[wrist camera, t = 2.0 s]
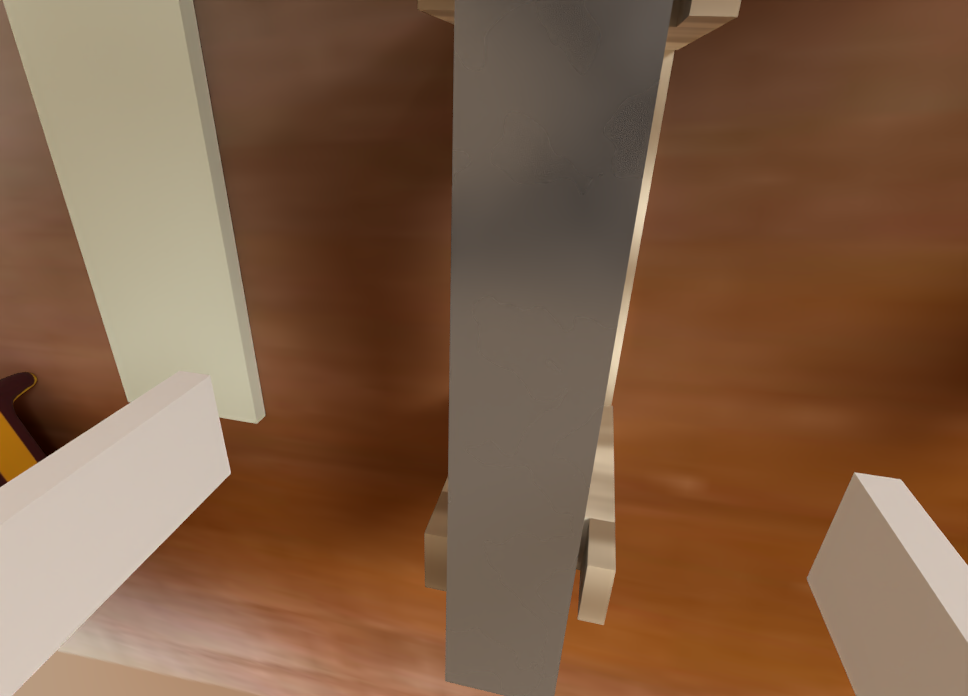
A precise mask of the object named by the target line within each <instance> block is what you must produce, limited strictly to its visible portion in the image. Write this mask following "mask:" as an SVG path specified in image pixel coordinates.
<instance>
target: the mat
mask: <svg viewBox="0 0 968 696" xmlns="http://www.w3.org/2000/svg"><path fill="white" fill-rule="evenodd" d="M3 3H4V6H5V9H6V12H7V16H8V19H9V22H10V25H11V28H12V32H13V35H14V38H15V41H16V44H17V48H18V51H19V54H20V57H21V60H22V64H23V67H24V70H25V73H26V77H27V80H28V83H29V86H30V89H31V93H32V96H33V99H34V102H35V105H36V109H37V112H38V115H39V118H40V121H41V125H42V128H43V131H44V134H45V137H46V141H47V144H48V147H49V150H50V153H51V157H52V160H53V163H54V166H55V169H56V173H57V176H58V179H59V182H60V185H61V189H62V192H63V195H64V198H65V201H66V205H67V208H68V211H69V214H70V217H71V221H72V224H73V227H74V230H75V234H76V237H77V240H78V243H79V246H80V250H81V253H82V256H83V259H84V262H85V266H86V269H87V272H88V275H89V278H90V282H91V285H92V288H93V291H94V294H95V298H96V301H97V304H98V307H99V310H100V314H101V317H102V320H103V323H104V326H105V330H106V333H107V336H108V339H109V342H110V346H111V349H112V352H113V355H114V358H115V362H116V365H117V368H118V371H119V374H120V378H121V381H122V384H123V387H124V391H125V394H126V397H127V400H128V402H132V401H134V400H135V399H137V398H138V397H140V396H141V395H143V394H145V393H146V392H148V391H149V390H151V389H152V388H154V387H155V386H157V385H158V384H160V383H161V382H163V381H164V380H166V379H168V378H169V377H171V376H172V375H174V374H175V373H177V372H178V371H185V372H192V373H198V374H205V375H210V377H211V382H212V387H213V391H214V396H215V401H216V405H217V410H218V415H219V417H220V418H226V419H232V420H238V421H244V422H250V423H256V424H257V423H258V422H259V421H260V420H262V419H263V418H264V417H265V416H266V415H265V409H264V404H263V398H262V392H261V387H260V381H259V375H258V369H257V364H256V358H255V352H254V347H253V341H252V335H251V329H250V324H249V318H248V312H247V307H246V301H245V295H244V289H243V284H242V278H241V272H240V267H239V261H238V255H237V249H236V244H235V238H234V232H233V227H232V221H231V215H230V209H229V204H228V198H227V192H226V187H225V181H224V175H223V169H222V164H221V158H220V152H219V147H218V141H217V135H216V129H215V124H214V118H213V112H212V107H211V101H210V95H209V89H208V84H207V78H206V72H205V67H204V61H203V55H202V49H201V44H200V38H199V32H198V27H197V21H196V15H195V9H194V4H193V0H3Z"/></svg>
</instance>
